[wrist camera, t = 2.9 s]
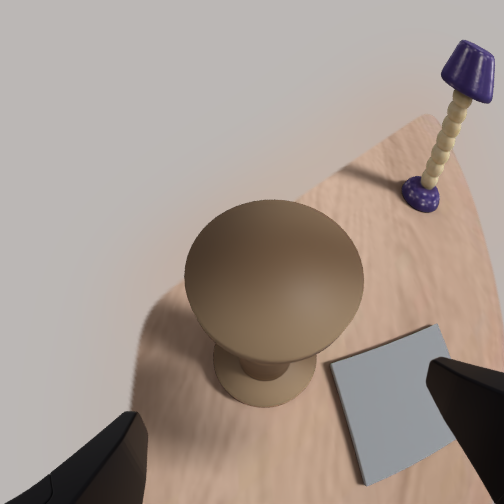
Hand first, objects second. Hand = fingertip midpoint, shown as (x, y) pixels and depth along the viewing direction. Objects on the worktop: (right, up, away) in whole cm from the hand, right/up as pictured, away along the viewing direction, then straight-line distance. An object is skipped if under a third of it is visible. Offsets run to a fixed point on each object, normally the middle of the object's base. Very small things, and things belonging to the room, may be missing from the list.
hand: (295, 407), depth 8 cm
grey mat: (+9, -6, +9) cm, 14 cm away
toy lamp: (+16, +10, +19) cm, 27 cm away
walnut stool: (0, -3, +11) cm, 11 cm away
